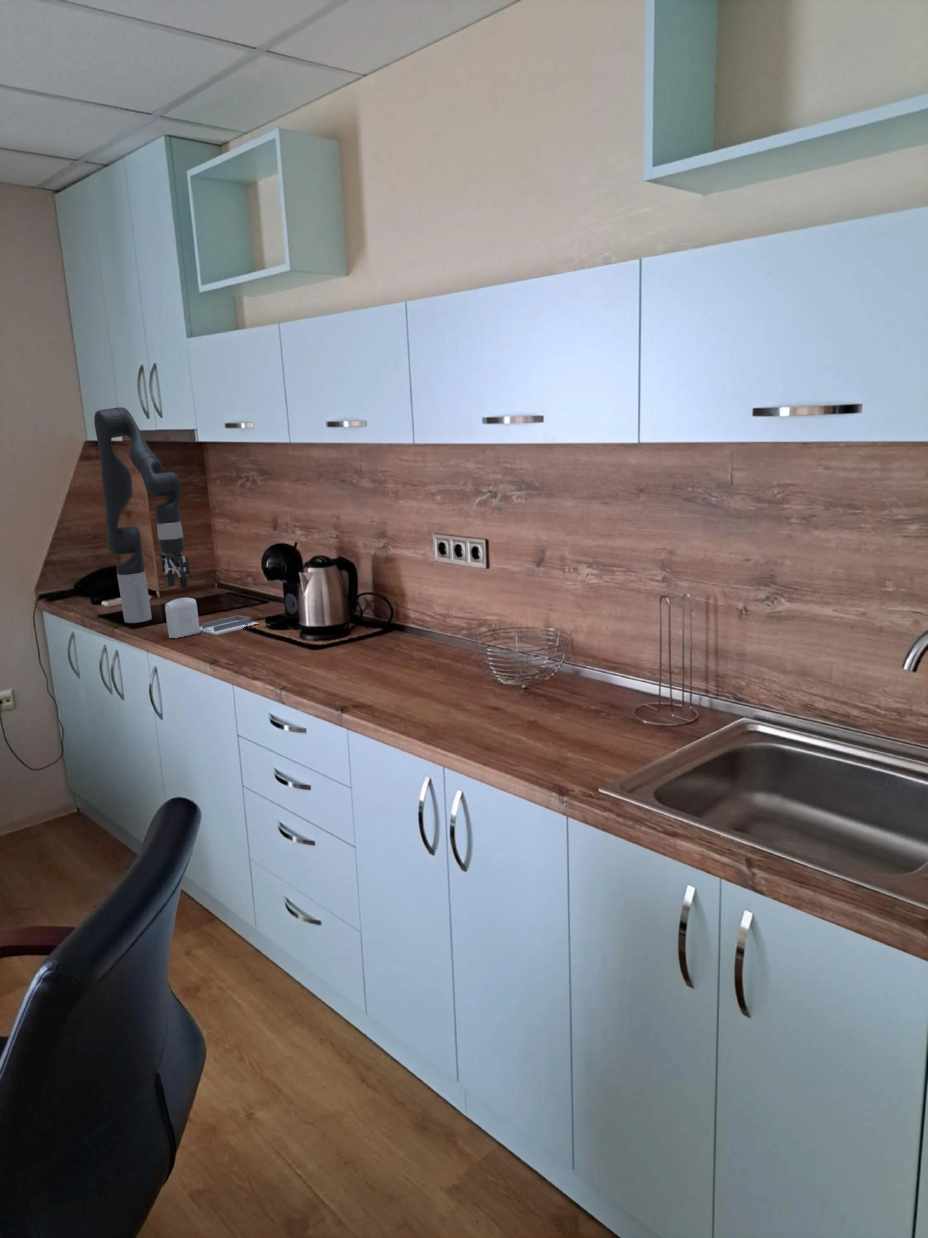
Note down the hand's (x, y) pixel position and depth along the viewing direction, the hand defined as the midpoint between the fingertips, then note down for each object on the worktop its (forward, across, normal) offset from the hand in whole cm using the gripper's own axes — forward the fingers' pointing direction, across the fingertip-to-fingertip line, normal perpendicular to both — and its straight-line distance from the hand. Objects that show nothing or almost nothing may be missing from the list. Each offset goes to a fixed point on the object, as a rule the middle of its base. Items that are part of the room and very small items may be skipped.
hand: (177, 587), depth 287 cm
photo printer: (+16, 0, 0) cm, 16 cm away
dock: (+16, +2, +14) cm, 21 cm away
